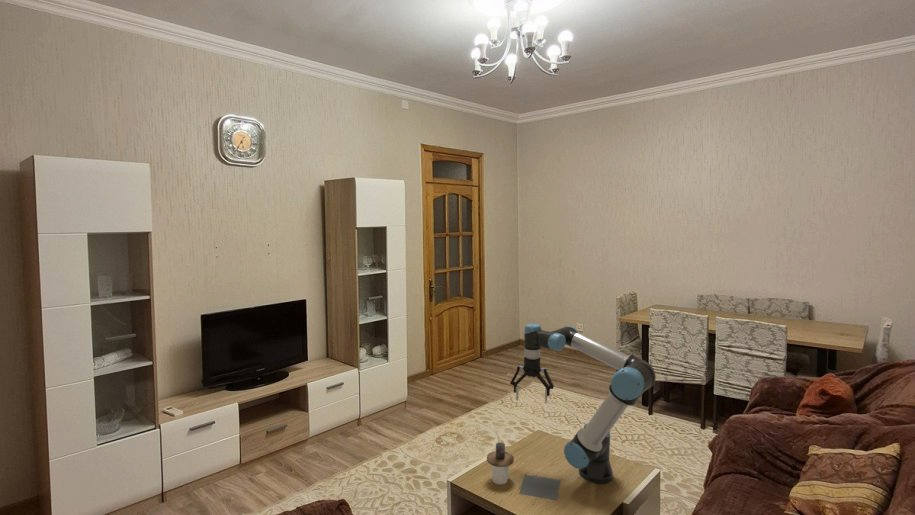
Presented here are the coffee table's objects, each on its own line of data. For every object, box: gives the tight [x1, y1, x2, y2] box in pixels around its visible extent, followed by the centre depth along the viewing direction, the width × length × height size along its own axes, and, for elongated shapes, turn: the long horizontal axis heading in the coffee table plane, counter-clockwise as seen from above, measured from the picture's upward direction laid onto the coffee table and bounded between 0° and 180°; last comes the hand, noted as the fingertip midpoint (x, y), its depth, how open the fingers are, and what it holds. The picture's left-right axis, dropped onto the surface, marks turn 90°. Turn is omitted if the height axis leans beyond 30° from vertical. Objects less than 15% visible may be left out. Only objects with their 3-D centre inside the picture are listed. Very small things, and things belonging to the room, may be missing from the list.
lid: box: [486, 442, 515, 467], centre depth 220 cm, size 12×12×7 cm
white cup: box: [491, 465, 510, 485], centre depth 221 cm, size 8×8×10 cm
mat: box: [518, 474, 561, 501], centre depth 216 cm, size 16×16×1 cm
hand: (531, 400), depth 232 cm, fingers open, 13 cm apart
